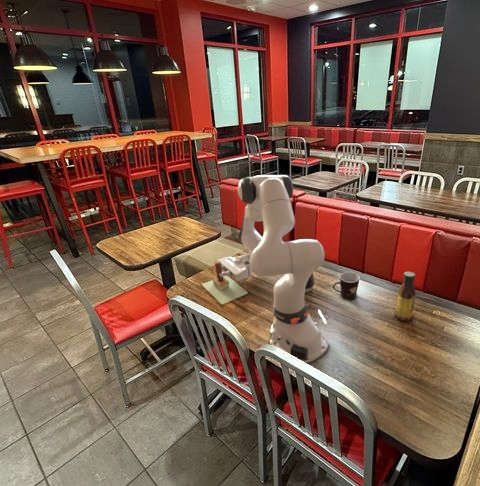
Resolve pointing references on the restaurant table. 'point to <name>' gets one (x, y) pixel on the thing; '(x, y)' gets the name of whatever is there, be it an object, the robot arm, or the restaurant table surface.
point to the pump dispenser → (309, 284)
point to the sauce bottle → (406, 298)
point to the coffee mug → (348, 285)
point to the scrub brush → (220, 278)
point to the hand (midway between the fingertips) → (217, 273)
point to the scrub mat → (225, 291)
